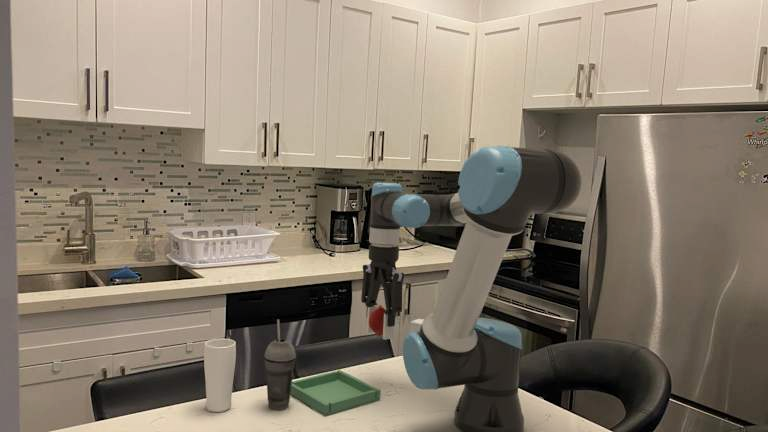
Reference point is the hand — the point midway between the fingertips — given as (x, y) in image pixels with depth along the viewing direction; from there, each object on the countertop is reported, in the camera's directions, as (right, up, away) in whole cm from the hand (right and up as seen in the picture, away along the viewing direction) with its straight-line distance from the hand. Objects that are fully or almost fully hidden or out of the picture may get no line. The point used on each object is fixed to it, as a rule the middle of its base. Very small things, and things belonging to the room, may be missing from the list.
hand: (379, 334), depth 153 cm
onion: (0, 0, 0) cm, 0 cm away
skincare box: (+11, -12, +20) cm, 25 cm away
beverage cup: (-23, -13, -15) cm, 31 cm away
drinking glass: (-36, -13, -18) cm, 42 cm away
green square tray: (-11, -13, -8) cm, 19 cm away
